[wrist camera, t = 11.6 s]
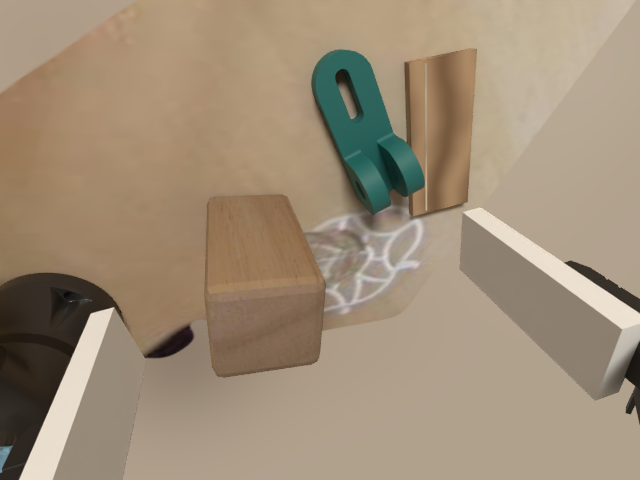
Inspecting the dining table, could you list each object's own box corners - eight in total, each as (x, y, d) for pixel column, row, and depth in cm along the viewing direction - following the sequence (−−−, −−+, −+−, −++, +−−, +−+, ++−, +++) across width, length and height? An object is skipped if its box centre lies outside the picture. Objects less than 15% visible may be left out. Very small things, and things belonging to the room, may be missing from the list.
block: (286, 258, 52) (321, 367, 35) (213, 263, 50) (212, 384, 33) (288, 191, 47) (329, 281, 30) (206, 194, 45) (202, 293, 28)
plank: (409, 212, 53) (413, 216, 52) (404, 62, 43) (409, 63, 42) (462, 198, 55) (467, 202, 53) (470, 48, 44) (477, 48, 43)
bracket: (401, 174, 50) (430, 196, 44) (357, 198, 50) (379, 223, 44) (355, 38, 41) (383, 39, 34) (301, 67, 41) (318, 74, 34)
